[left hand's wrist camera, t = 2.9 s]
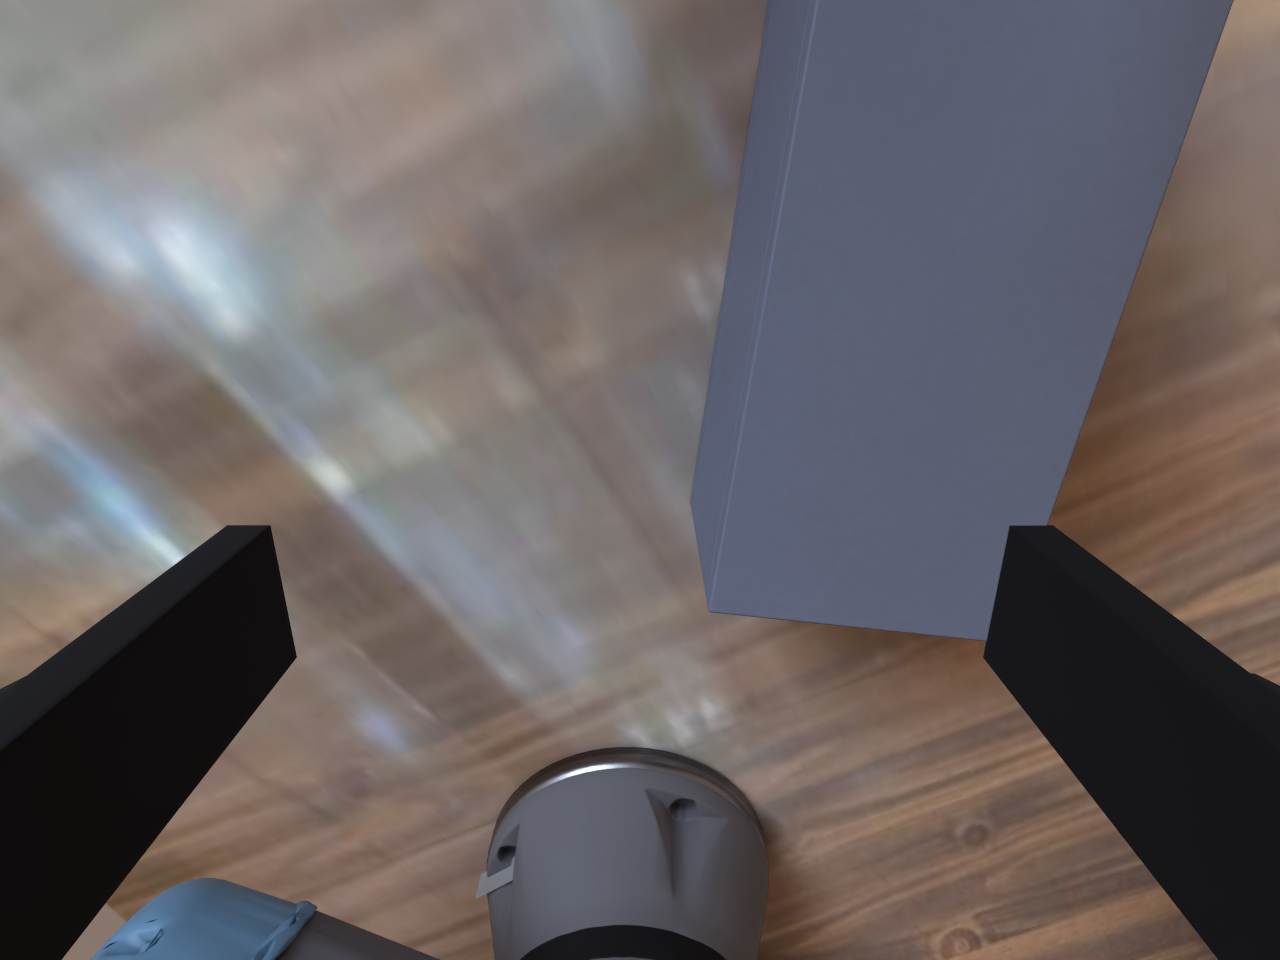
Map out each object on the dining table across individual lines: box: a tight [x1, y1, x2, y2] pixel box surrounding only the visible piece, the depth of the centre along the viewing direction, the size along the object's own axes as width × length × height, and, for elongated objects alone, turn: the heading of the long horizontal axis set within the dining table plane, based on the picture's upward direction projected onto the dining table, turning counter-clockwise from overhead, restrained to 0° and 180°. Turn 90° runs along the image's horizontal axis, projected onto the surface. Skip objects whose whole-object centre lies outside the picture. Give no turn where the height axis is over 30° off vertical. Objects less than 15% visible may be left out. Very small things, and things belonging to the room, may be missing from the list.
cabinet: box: [690, 0, 1233, 641], centre depth 24 cm, size 21×10×10 cm, turn 173°
